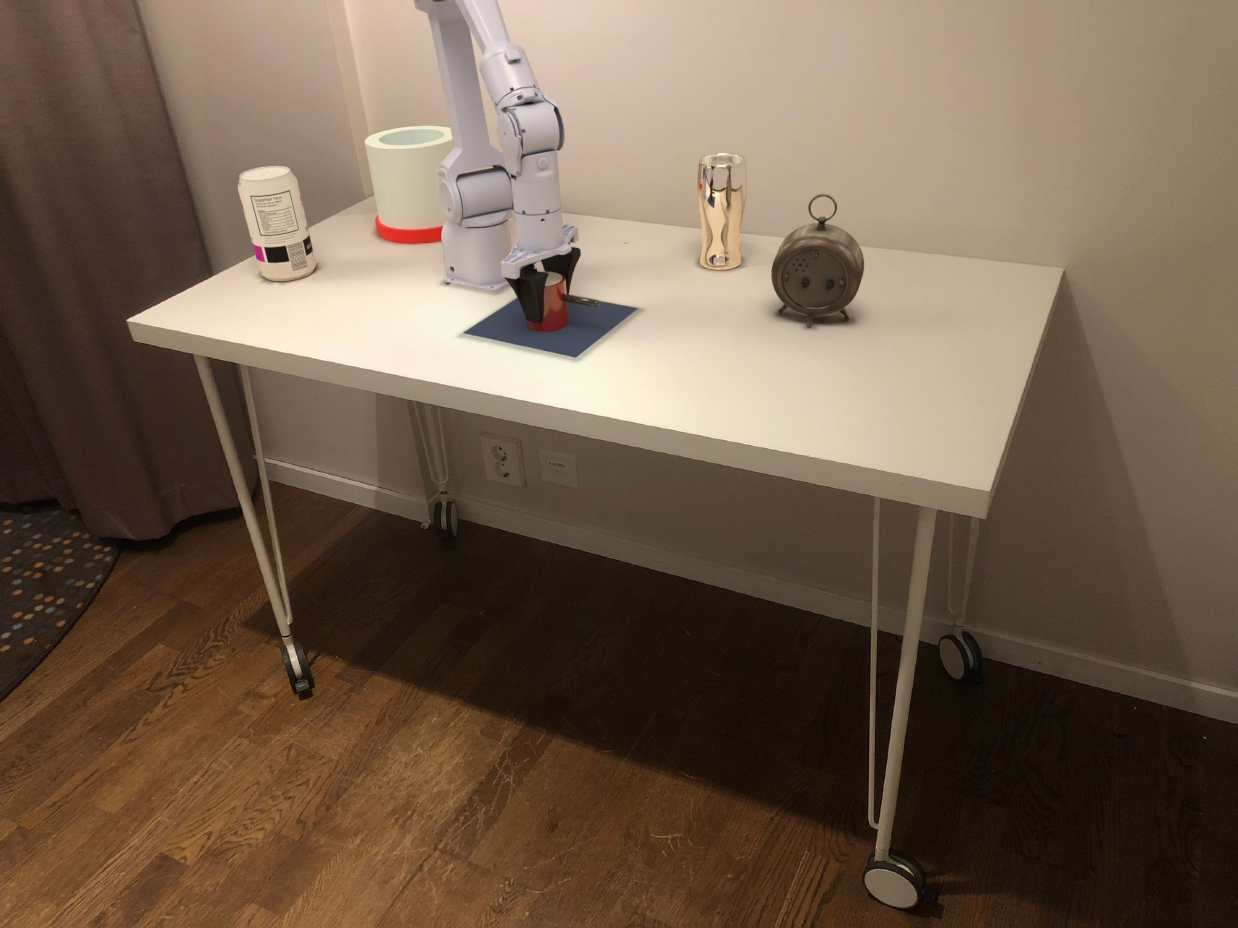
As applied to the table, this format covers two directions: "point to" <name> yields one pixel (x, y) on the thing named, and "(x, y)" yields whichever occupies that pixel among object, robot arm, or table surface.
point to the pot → (557, 304)
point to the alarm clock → (818, 269)
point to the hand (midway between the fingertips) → (546, 312)
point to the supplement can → (276, 223)
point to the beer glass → (721, 208)
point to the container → (408, 181)
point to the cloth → (567, 341)
